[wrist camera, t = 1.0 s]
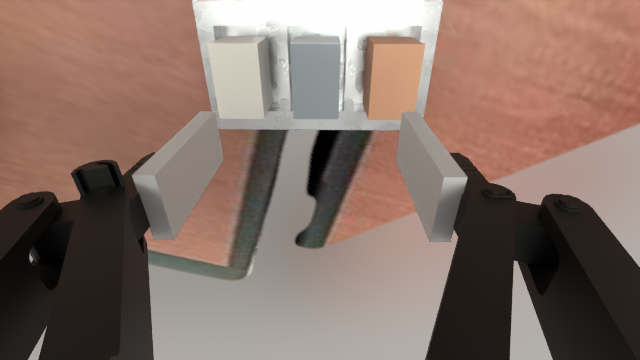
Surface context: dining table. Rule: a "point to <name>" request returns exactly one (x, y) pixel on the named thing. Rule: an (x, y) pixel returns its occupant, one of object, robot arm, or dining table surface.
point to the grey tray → (318, 20)
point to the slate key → (315, 76)
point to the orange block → (391, 76)
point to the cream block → (241, 76)
